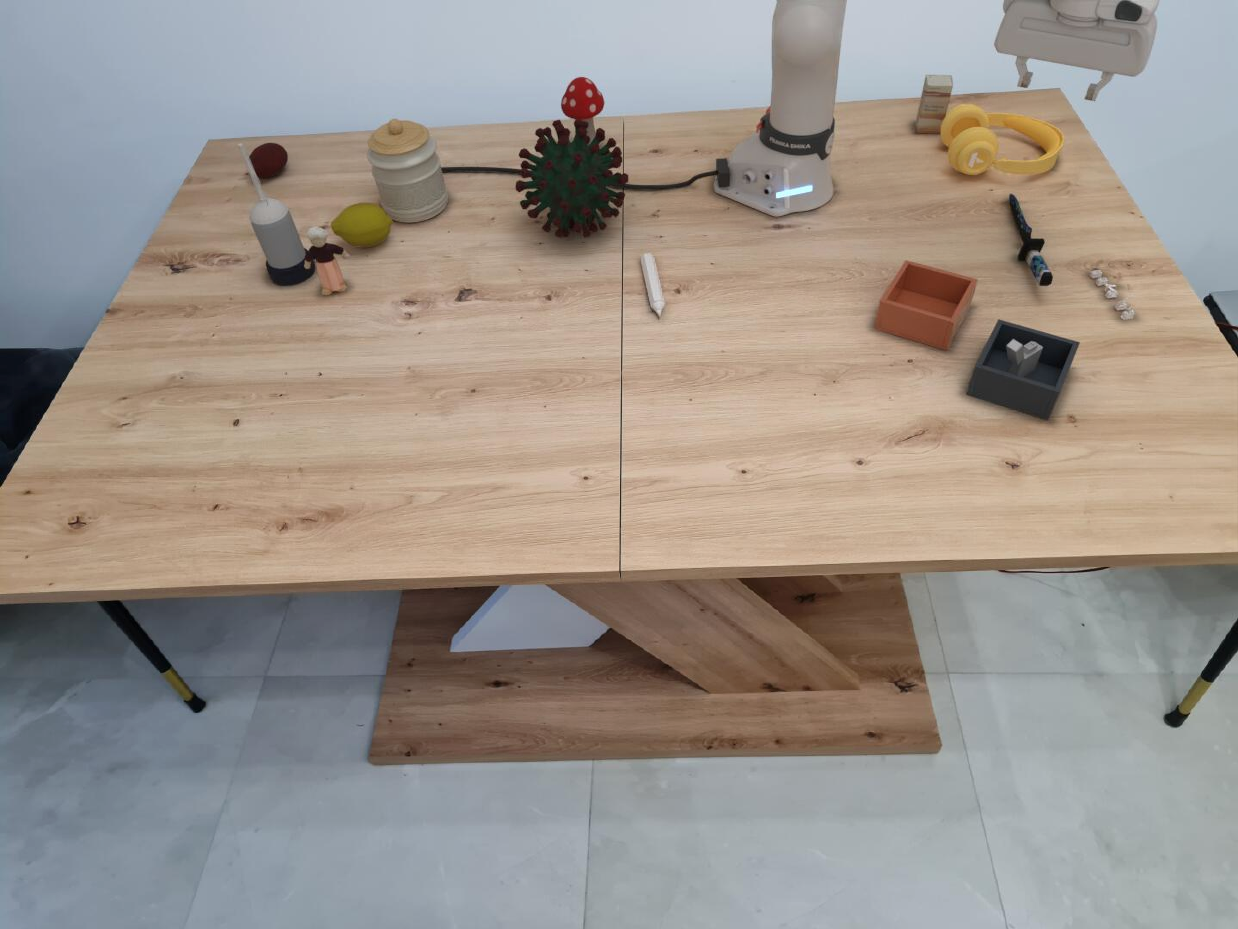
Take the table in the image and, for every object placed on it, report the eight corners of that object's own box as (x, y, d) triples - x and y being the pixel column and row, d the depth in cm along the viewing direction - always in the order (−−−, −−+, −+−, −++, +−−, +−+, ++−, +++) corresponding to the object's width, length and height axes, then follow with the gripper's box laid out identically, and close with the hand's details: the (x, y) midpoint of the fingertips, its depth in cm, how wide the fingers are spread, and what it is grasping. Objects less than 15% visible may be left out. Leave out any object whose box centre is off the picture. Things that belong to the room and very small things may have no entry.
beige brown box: (916, 133, 180) (925, 84, 173) (915, 122, 183) (924, 73, 176) (943, 134, 180) (953, 85, 172) (941, 123, 182) (952, 74, 175)
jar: (370, 218, 174) (343, 132, 161) (405, 182, 182) (382, 98, 168) (428, 229, 170) (405, 142, 157) (461, 192, 178) (442, 106, 164)
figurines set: (1087, 276, 148) (1093, 261, 146) (1104, 273, 148) (1110, 259, 146) (1123, 322, 140) (1130, 308, 138) (1141, 320, 140) (1148, 305, 138)
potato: (299, 167, 188) (290, 140, 184) (268, 188, 184) (257, 161, 179) (275, 159, 191) (264, 132, 187) (243, 179, 187) (231, 153, 182)
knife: (1048, 300, 143) (1056, 275, 140) (1028, 299, 143) (1036, 274, 140) (1020, 209, 165) (1027, 186, 161) (1003, 208, 165) (1009, 185, 162)
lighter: (1026, 362, 135) (1041, 321, 129) (1035, 369, 134) (1051, 327, 128) (993, 383, 132) (1006, 341, 126) (1002, 389, 131) (1016, 348, 125)
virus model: (531, 269, 159) (514, 167, 144) (516, 208, 173) (499, 108, 158) (642, 249, 161) (636, 146, 146) (619, 190, 174) (611, 89, 159)
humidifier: (300, 252, 168) (250, 126, 149) (323, 270, 164) (275, 142, 145) (261, 273, 164) (205, 146, 146) (285, 291, 160) (230, 164, 141)
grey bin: (966, 394, 132) (974, 366, 128) (989, 347, 138) (998, 318, 134) (1048, 420, 128) (1059, 392, 124) (1068, 370, 134) (1080, 342, 130)
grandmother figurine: (319, 301, 158) (294, 240, 148) (313, 290, 160) (289, 229, 150) (361, 286, 160) (339, 225, 150) (355, 275, 162) (333, 214, 152)
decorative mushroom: (607, 162, 181) (601, 90, 170) (565, 165, 182) (556, 93, 170) (608, 137, 188) (603, 66, 177) (567, 139, 188) (559, 68, 177)
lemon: (400, 228, 171) (389, 191, 165) (395, 253, 166) (383, 215, 160) (343, 233, 171) (330, 196, 165) (337, 258, 166) (323, 221, 160)
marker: (659, 324, 148) (646, 265, 159) (670, 318, 148) (656, 259, 158) (651, 315, 147) (638, 256, 157) (662, 308, 146) (648, 249, 156)
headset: (1068, 181, 166) (1082, 135, 159) (949, 188, 168) (958, 142, 161) (1042, 133, 177) (1055, 87, 171) (932, 140, 180) (939, 95, 173)
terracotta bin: (874, 328, 143) (879, 300, 139) (899, 287, 149) (905, 259, 145) (946, 350, 139) (954, 322, 134) (970, 307, 145) (978, 279, 141)
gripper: (1002, -12, 123) (978, 87, 133) (1164, 13, 115) (1125, 116, 126) (1015, -29, 127) (990, 69, 137) (1173, -6, 119) (1134, 96, 129)
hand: (1056, 92), depth 131 cm, fingers open, 8 cm apart
